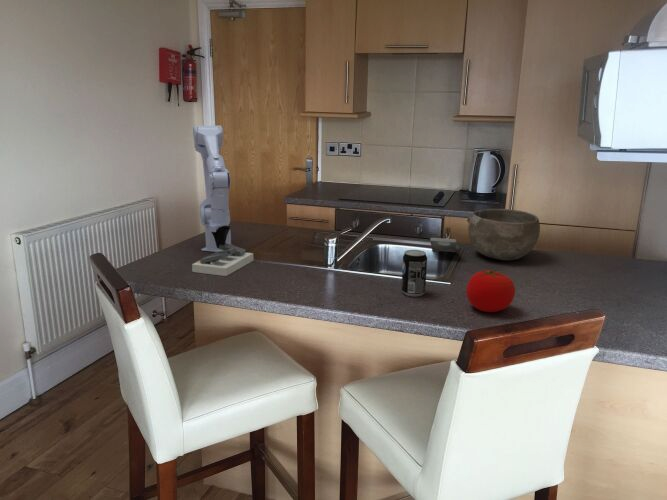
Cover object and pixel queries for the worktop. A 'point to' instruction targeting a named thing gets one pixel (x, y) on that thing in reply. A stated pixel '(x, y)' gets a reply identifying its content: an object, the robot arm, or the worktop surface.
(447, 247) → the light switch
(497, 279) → the tomato
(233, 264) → the switch panel
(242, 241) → the worktop surface
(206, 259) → the rocker
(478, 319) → the worktop surface
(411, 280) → the beverage can
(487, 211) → the bowl
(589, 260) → the worktop surface
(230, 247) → the rocker
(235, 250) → the rocker
